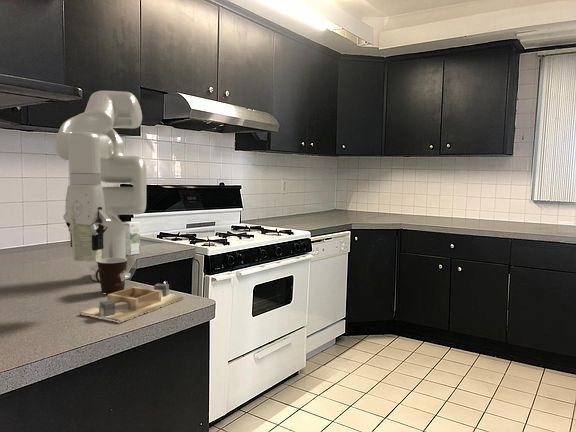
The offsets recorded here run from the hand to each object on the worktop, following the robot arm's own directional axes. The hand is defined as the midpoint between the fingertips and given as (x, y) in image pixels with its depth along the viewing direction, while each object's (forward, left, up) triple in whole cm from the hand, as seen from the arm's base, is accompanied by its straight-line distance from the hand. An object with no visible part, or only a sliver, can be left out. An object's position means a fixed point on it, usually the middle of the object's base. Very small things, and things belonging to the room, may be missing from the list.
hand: (87, 247), depth 124 cm
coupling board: (+7, +9, -17) cm, 21 cm away
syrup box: (-50, +68, -18) cm, 86 cm away
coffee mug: (-10, +16, -18) cm, 26 cm away
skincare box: (0, 0, -4) cm, 4 cm away
